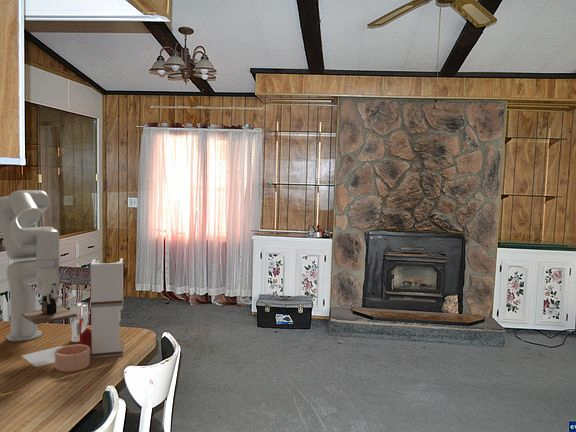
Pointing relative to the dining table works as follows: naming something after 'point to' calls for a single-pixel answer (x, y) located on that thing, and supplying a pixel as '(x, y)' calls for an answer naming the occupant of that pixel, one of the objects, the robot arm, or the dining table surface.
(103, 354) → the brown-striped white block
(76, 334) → the beer glass
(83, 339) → the onion
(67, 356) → the bowl
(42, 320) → the lid
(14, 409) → the dining table surface
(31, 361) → the mat
